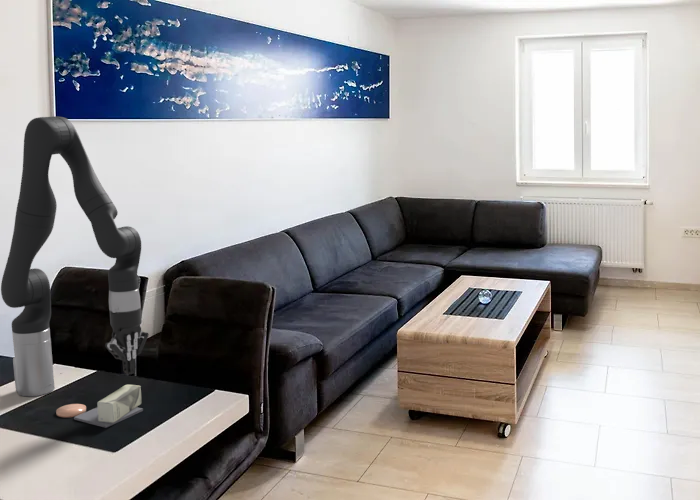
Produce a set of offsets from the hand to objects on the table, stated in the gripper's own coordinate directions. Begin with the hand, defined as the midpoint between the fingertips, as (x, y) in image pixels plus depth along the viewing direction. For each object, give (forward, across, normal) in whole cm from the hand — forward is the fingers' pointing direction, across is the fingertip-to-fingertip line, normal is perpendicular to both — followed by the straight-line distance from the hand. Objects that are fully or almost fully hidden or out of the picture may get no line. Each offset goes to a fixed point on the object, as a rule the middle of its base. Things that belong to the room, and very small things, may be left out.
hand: (129, 373), depth 190 cm
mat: (+8, +8, 0) cm, 11 cm away
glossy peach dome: (+8, +10, -10) cm, 17 cm away
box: (+5, 0, +1) cm, 5 cm away
